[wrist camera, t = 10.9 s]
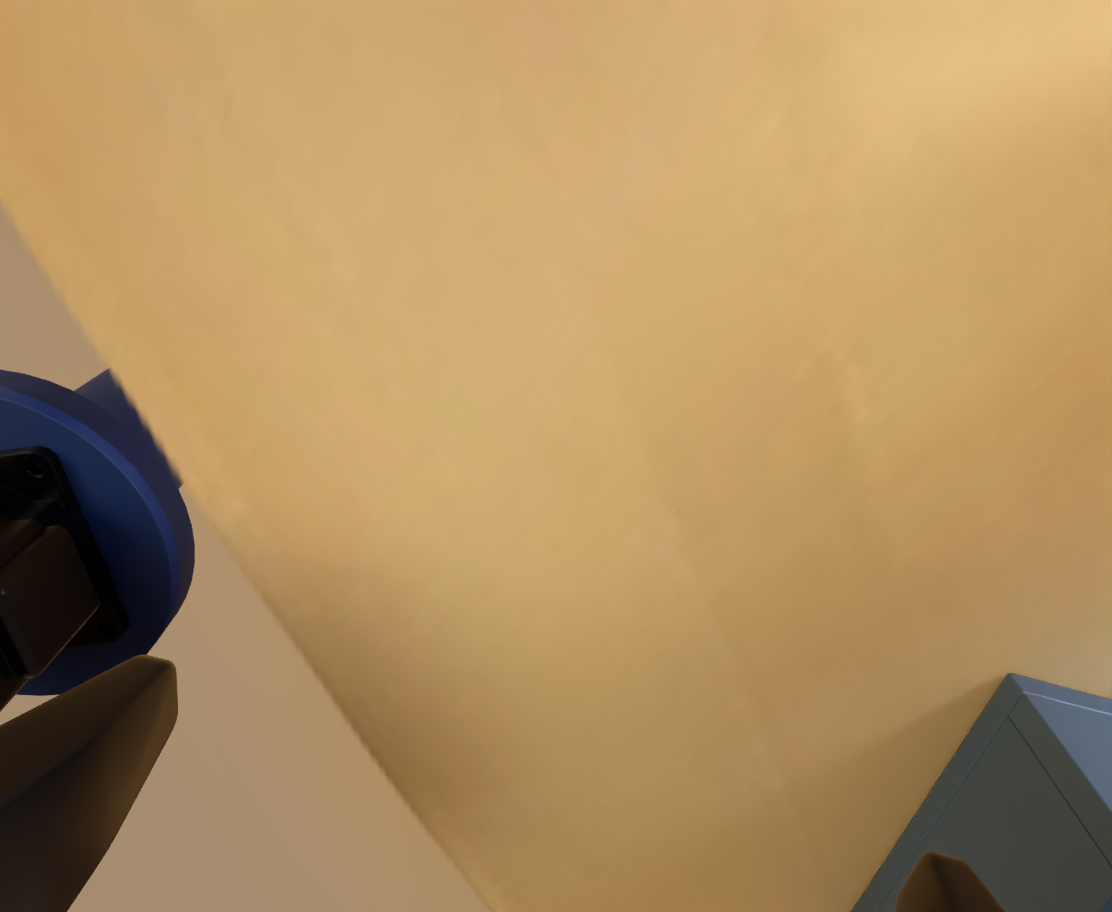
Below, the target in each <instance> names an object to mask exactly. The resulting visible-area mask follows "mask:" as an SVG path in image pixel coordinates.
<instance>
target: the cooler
mask: <svg viewBox="0 0 1112 912" xmlns="http://www.w3.org/2000/svg"><path fill="white" fill-rule="evenodd" d="M928 851H934V852H938V853H942V854H946V855H950V856H954V857H958V858H960V859H962V860H964V861H965V862H966V863H967V864H969V866H970V867H971V868H972V869H973V870H974V872H975V873H976V874H977V875H978V877H979V878H980V879H981V881H982V882H983V883H984V884H985V886H986V887H987V888H988V889H989V891H990V892H991V893H992V894H993V896H994V897H995V898H996V900H997V901H998V902H999V903H1000V905H1001V906H1002V907H1003V908H1004V910H1005V911H1006V912H1112V700H1111V699H1107V698H1103V697H1099V696H1095V695H1092V694H1088V693H1084V692H1080V691H1076V690H1073V689H1069V688H1065V687H1061V686H1057V685H1054V684H1050V683H1046V682H1042V681H1038V680H1034V679H1031V678H1027V677H1023V676H1019V675H1015V674H1012V673H1009V674H1007V675H1006V677H1005V679H1004V680H1003V682H1002V683H1001V685H1000V686H999V688H998V689H997V691H996V692H995V694H994V695H993V697H992V698H991V700H990V701H989V703H988V704H987V706H986V708H985V709H984V711H983V712H982V714H981V715H980V717H979V718H978V720H977V721H976V723H975V724H974V726H973V727H972V729H971V730H970V732H969V733H968V735H967V737H966V738H965V740H964V741H963V743H962V744H961V746H960V747H959V749H958V750H957V752H956V753H955V755H954V756H953V758H952V759H951V761H950V762H949V764H948V766H947V767H946V769H945V770H944V772H943V773H942V775H941V776H940V778H939V779H938V781H937V782H936V784H935V785H934V787H933V788H932V790H931V791H930V793H929V795H928V796H927V798H926V799H925V801H924V802H923V804H922V805H921V807H920V808H919V810H918V811H917V813H916V814H915V816H914V817H913V819H912V820H911V822H910V823H909V825H908V827H907V828H906V830H905V831H904V833H903V834H902V836H901V837H900V839H899V840H898V842H897V843H896V845H895V846H894V848H893V849H892V851H891V852H890V854H889V856H888V857H887V859H886V860H885V862H884V863H883V865H882V866H881V868H880V869H879V871H878V872H877V874H876V875H875V877H874V878H873V880H872V881H871V883H870V885H869V886H868V888H867V889H866V891H865V892H864V894H863V895H862V897H861V898H860V900H859V901H858V903H857V904H856V906H855V907H854V909H853V910H852V912H896V902H897V898H898V895H899V892H900V890H901V889H902V887H903V885H904V884H905V882H906V880H907V879H908V877H909V875H910V874H911V872H912V870H913V869H914V867H915V866H916V864H917V862H918V861H919V859H920V857H921V856H922V855H923V854H924V853H926V852H928Z"/></svg>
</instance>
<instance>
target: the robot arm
mask: <svg viewBox="0 0 1112 912" xmlns="http://www.w3.org/2000/svg"><path fill="white" fill-rule="evenodd" d="M34 460H37V461H39V462H41V464H42V465H43V466H44V469H40V468H39V467H37V466H36V465H35V463H34ZM106 622H109V623H111V624H112V625H113V626H114V627H115V628H114V627H110V626H109V625H107V623H106ZM129 625H130V624H129V619H128V616H127V614H126V612H125V610H124V607H123V605H122V603H121V600H120V598H119V596H118V593H117V591H116V589H115V584H114V581H113V579H112V577H111V574H110V572H109V570H108V567H107V565H106V563H105V560H104V558H103V556H102V553H101V551H100V549H99V547H98V544H97V542H96V540H95V537H94V535H93V533H92V530H91V528H90V526H89V523H88V521H87V519H86V517H85V516H84V515H83V512H82V510H81V508H80V505H79V503H78V501H77V499H76V496H75V494H74V492H73V489H72V487H71V485H70V482H69V480H68V478H67V475H66V473H65V471H64V468H63V466H62V464H61V461H60V459H59V458H58V456H57V455H56V453H55V452H53V451H52V450H51V449H49V448H47V447H44V446H29V447H21V448H14V449H7V450H0V712H1V710H2V709H3V708H4V707H5V706H6V705H7V704H8V702H9V701H10V700H11V699H12V698H13V697H14V696H15V695H16V693H17V692H18V691H19V690H20V689H21V688H22V687H23V686H24V684H25V683H26V682H27V681H28V680H29V679H30V678H32V677H37V676H39V675H40V674H41V673H42V672H43V671H44V670H45V669H46V667H47V666H48V665H49V664H50V663H51V662H52V660H53V659H54V658H55V657H56V656H57V655H58V654H59V652H60V651H61V650H62V649H63V648H65V647H74V646H82V645H90V644H99V643H107V642H114V641H117V640H119V639H120V638H121V637H122V636H123V635H124V633H125V632H126V631H127V630H128V628H129ZM177 700H178V699H177V677H176V667H175V666H174V664H173V663H172V662H170V661H169V660H164V659H161V658H157V657H153V656H149V655H138V656H135V657H132V658H130V659H128V660H126V661H124V662H123V663H121V664H119V665H117V666H115V667H113V668H111V669H109V670H107V671H105V672H103V673H101V674H99V675H97V676H95V677H93V678H92V679H90V680H88V681H86V682H84V683H82V684H80V685H78V686H76V687H74V688H72V689H70V690H68V691H66V692H64V693H62V694H61V695H59V696H57V697H55V698H53V699H51V700H49V701H47V702H45V703H43V704H41V705H39V706H37V707H36V708H33V709H32V710H30V711H28V712H26V713H24V714H22V715H20V716H18V717H16V718H14V719H12V720H10V721H8V722H6V723H4V724H2V725H1V726H0V912H67V911H68V909H69V908H70V906H71V904H72V903H73V902H74V900H75V899H76V897H77V896H78V894H79V893H80V891H81V890H82V888H83V887H84V885H85V884H86V882H87V881H88V879H89V878H90V877H91V875H92V874H93V872H94V871H95V869H96V868H97V866H98V864H99V863H100V861H101V860H102V858H103V856H104V855H105V853H106V852H107V850H108V849H109V847H110V845H111V843H112V842H113V840H114V838H115V836H116V835H117V833H118V831H119V829H120V827H121V826H122V824H123V822H124V820H125V818H126V816H127V814H128V813H129V811H130V809H131V807H132V805H133V803H134V801H135V799H136V798H137V796H138V794H139V792H140V790H141V788H142V786H143V784H144V782H145V781H146V779H147V777H148V775H149V773H150V771H151V770H152V768H153V766H154V764H155V762H156V760H157V758H158V757H159V755H160V753H161V751H162V749H163V747H164V745H165V743H166V741H167V740H168V738H169V736H170V734H171V732H172V730H173V728H174V725H175V723H176V719H177V714H178V701H177ZM896 912H1006V911H1005V910H1004V908H1003V907H1002V906H1001V905H1000V903H999V902H998V901H997V900H996V898H995V897H994V896H993V894H992V893H991V892H990V891H989V889H988V888H987V887H986V886H985V884H984V883H983V882H982V881H981V879H980V878H979V877H978V875H977V874H976V873H975V872H974V870H973V869H972V868H971V867H970V866H969V864H967V863H966V862H965V861H964V860H962V859H960V858H958V857H954V856H950V855H946V854H942V853H938V852H934V851H928V852H926V853H924V854H923V855H922V856H921V857H920V859H919V861H918V862H917V864H916V866H915V867H914V869H913V870H912V872H911V874H910V875H909V877H908V879H907V880H906V882H905V884H904V885H903V887H902V889H901V890H900V892H899V895H898V898H897V902H896Z"/></svg>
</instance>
